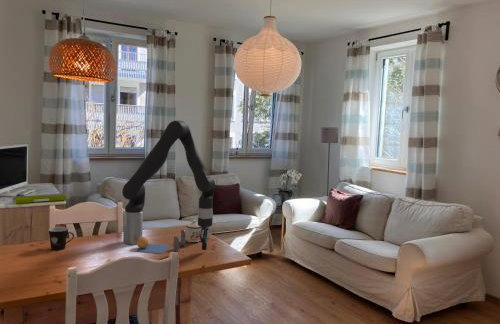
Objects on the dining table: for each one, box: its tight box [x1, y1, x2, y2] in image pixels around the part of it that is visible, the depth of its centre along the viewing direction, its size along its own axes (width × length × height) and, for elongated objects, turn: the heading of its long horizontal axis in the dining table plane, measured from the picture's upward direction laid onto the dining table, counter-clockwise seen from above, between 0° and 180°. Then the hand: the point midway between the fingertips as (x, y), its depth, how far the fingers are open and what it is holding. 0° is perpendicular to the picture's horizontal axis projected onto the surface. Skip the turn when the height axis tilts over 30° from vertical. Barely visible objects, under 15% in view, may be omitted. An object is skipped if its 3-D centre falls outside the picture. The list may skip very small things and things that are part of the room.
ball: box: [136, 236, 150, 249], centre depth 208 cm, size 6×6×6 cm
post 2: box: [180, 229, 187, 248], centre depth 212 cm, size 2×2×9 cm
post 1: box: [172, 235, 180, 253], centre depth 200 cm, size 2×2×9 cm
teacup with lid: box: [185, 219, 202, 243], centre depth 225 cm, size 12×9×12 cm
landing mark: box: [134, 243, 171, 255], centre depth 208 cm, size 14×14×1 cm
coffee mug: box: [48, 226, 75, 252], centre depth 200 cm, size 12×9×10 cm
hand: (204, 249), depth 205 cm, fingers closed
